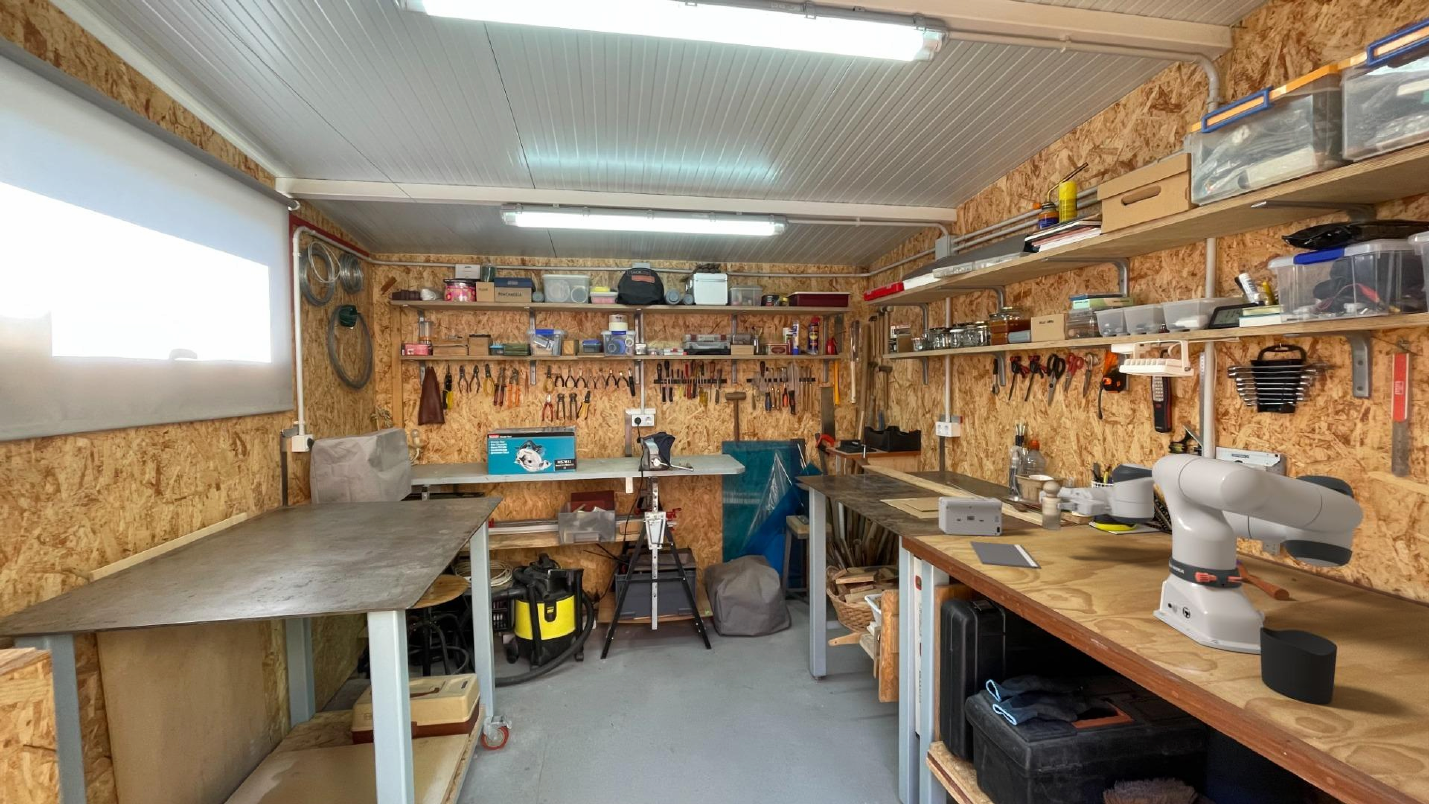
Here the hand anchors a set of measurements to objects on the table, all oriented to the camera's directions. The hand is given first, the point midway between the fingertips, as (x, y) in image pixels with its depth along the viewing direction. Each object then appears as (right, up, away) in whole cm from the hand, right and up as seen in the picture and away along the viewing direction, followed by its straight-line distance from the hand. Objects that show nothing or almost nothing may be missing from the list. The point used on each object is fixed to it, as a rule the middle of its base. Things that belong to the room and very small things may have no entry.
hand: (1049, 503), depth 167 cm
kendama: (+41, -19, -23) cm, 50 cm away
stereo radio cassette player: (-11, -17, +30) cm, 36 cm away
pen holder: (0, -21, -71) cm, 74 cm away
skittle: (+1, -8, 0) cm, 8 cm away
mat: (-12, -18, +5) cm, 22 cm away
